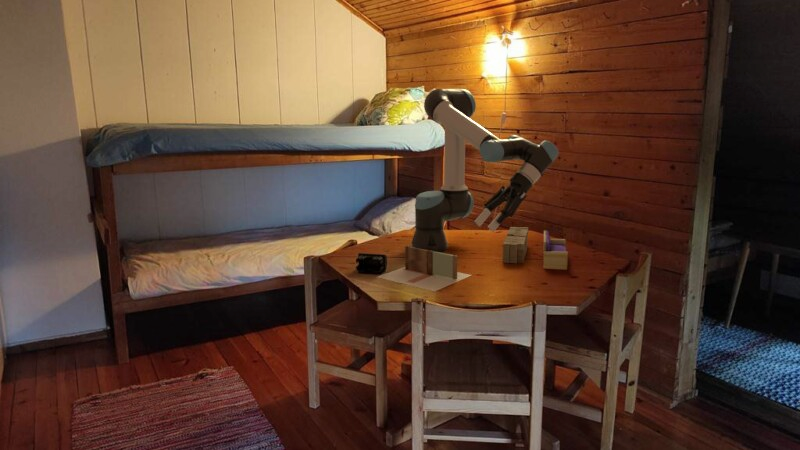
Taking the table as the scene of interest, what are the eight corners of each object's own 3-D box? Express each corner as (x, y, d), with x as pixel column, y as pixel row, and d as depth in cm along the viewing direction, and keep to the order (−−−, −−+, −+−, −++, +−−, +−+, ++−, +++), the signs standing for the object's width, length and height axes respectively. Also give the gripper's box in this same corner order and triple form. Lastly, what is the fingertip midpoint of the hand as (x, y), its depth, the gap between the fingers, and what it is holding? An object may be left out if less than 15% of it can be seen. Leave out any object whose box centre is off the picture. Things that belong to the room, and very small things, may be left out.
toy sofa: (567, 270, 203) (569, 243, 201) (542, 269, 205) (543, 242, 203) (565, 255, 223) (566, 230, 221) (542, 254, 225) (543, 229, 223)
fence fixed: (404, 269, 205) (403, 246, 203) (407, 268, 207) (407, 245, 205) (431, 275, 198) (431, 252, 196) (434, 274, 199) (434, 251, 197)
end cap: (387, 270, 206) (387, 252, 204) (382, 276, 199) (381, 257, 198) (361, 269, 208) (360, 251, 207) (355, 274, 201) (354, 256, 200)
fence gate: (432, 274, 197) (432, 252, 196) (434, 273, 199) (434, 251, 197) (455, 279, 191) (455, 256, 190) (458, 278, 193) (458, 255, 191)
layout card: (376, 278, 197) (376, 276, 197) (415, 264, 213) (415, 262, 213) (434, 292, 181) (434, 291, 181) (471, 276, 198) (471, 274, 197)
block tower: (522, 266, 213) (528, 245, 240) (523, 245, 211) (529, 226, 238) (501, 265, 215) (509, 244, 242) (502, 243, 213) (510, 225, 240)
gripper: (548, 189, 191) (506, 240, 189) (514, 182, 211) (475, 227, 209) (535, 175, 188) (492, 225, 186) (502, 168, 208) (462, 214, 206)
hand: (483, 226), depth 198 cm, fingers open, 9 cm apart
